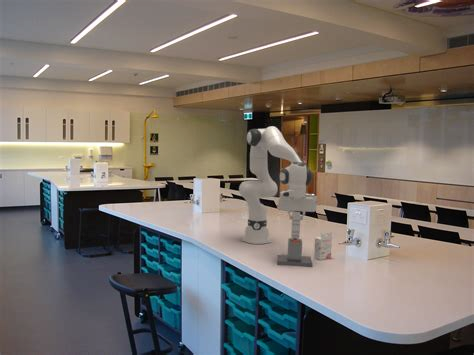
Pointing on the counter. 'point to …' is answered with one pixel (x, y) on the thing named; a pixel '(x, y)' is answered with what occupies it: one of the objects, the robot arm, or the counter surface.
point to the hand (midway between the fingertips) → (296, 219)
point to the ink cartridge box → (323, 246)
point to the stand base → (294, 255)
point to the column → (295, 226)
